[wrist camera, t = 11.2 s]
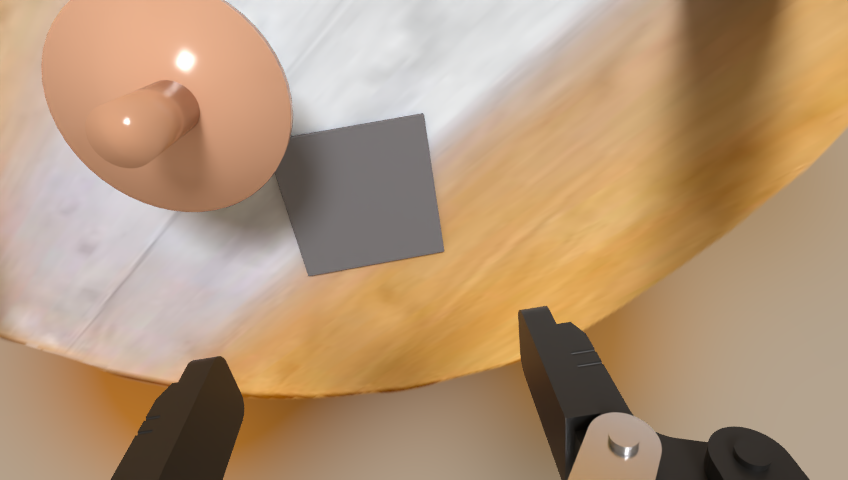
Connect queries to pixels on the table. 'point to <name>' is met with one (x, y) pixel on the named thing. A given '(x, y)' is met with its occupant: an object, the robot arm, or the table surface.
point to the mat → (361, 194)
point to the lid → (168, 99)
